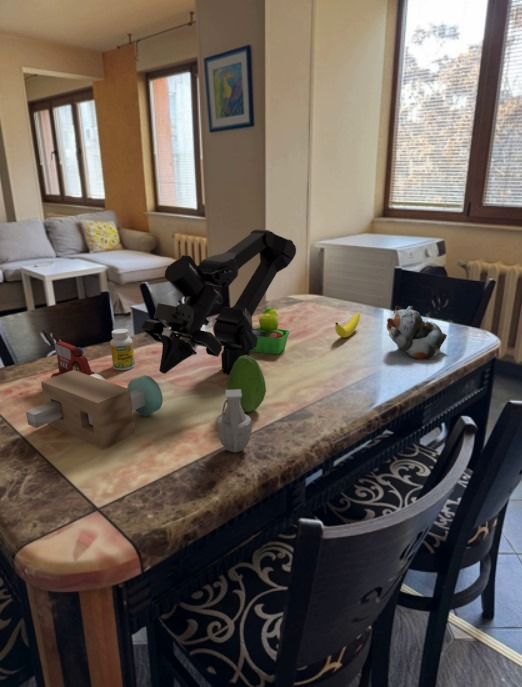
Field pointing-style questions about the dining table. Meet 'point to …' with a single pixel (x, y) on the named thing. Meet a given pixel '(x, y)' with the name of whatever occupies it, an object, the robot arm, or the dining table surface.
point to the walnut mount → (85, 408)
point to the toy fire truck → (71, 359)
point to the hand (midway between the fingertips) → (161, 372)
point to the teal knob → (143, 396)
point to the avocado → (247, 382)
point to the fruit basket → (270, 333)
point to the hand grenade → (234, 423)
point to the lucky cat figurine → (415, 333)
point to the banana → (348, 327)
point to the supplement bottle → (122, 350)
